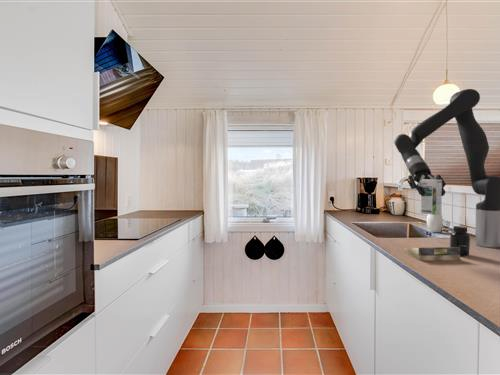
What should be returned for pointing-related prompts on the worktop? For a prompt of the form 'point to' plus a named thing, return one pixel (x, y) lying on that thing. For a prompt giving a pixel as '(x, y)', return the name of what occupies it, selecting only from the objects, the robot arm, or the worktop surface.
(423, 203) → the syrup box
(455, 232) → the supplement bottle
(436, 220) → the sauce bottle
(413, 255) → the price shelf
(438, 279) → the worktop surface
